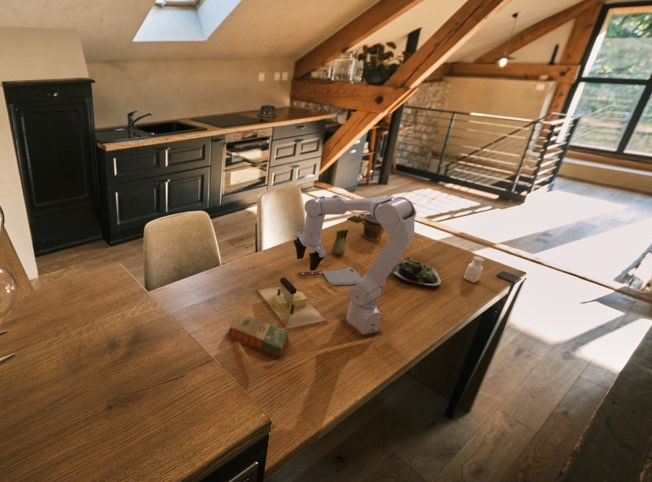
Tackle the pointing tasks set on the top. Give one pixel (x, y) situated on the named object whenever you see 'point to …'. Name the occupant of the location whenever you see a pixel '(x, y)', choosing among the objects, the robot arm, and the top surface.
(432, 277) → the salad plate
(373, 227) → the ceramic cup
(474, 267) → the pepper shaker
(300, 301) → the butter block
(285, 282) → the dough scraper
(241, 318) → the carton
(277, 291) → the board
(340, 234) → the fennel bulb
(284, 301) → the butter slice
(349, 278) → the kitchen cleaver
